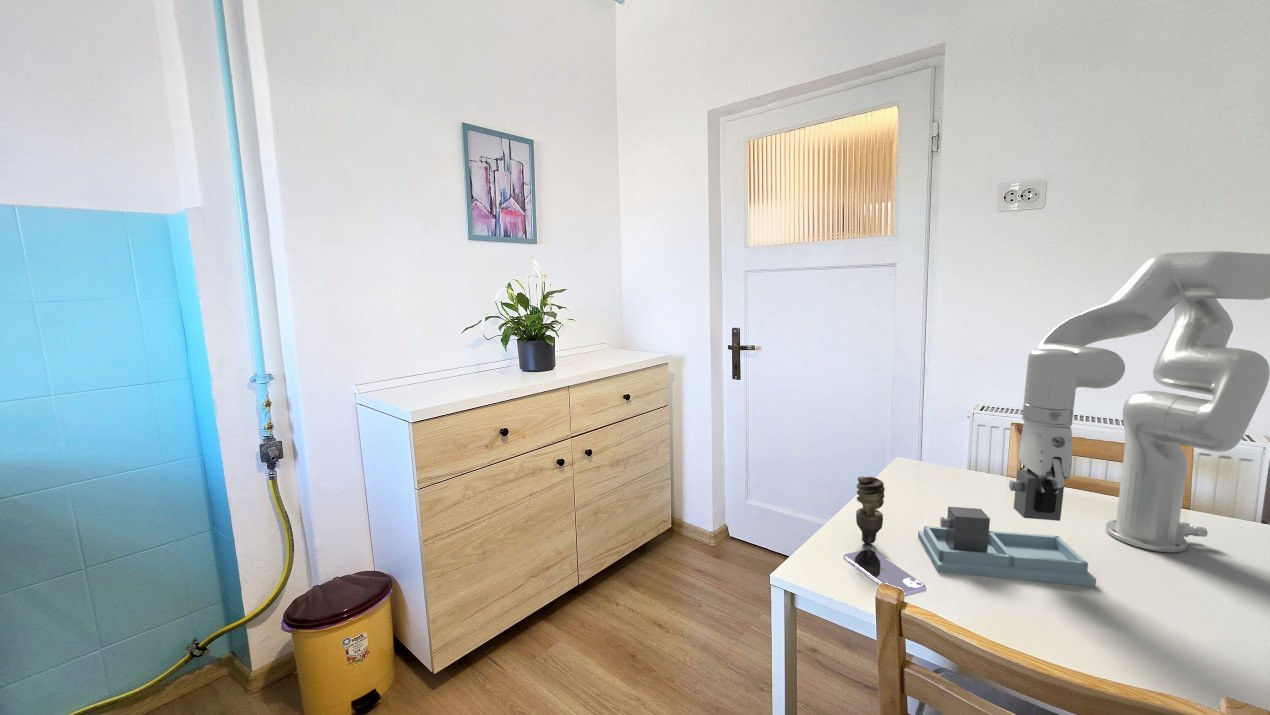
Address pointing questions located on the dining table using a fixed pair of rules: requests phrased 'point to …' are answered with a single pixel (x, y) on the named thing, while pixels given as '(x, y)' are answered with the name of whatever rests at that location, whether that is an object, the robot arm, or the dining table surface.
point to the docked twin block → (966, 529)
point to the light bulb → (870, 507)
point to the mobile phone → (884, 570)
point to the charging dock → (1010, 557)
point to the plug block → (1032, 496)
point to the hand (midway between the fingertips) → (1037, 505)
